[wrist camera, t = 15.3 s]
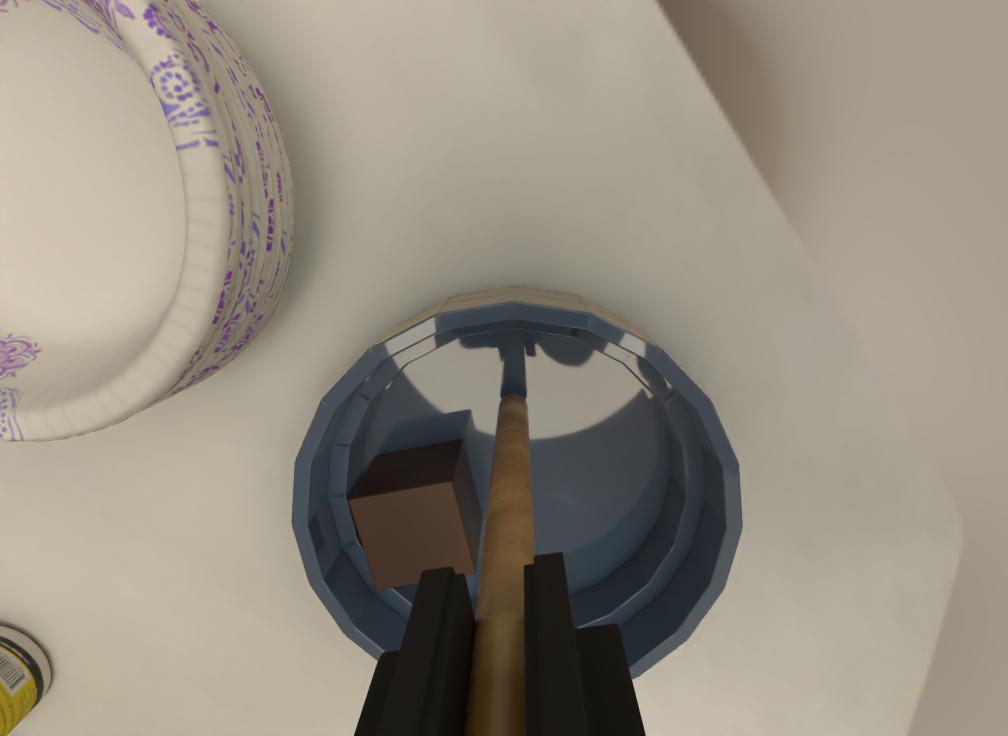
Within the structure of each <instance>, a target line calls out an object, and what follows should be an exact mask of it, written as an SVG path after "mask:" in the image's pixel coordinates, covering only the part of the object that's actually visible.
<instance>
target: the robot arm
mask: <svg viewBox="0 0 1008 736" xmlns="http://www.w3.org/2000/svg"><path fill="white" fill-rule="evenodd" d="M475 623H476V622H475V617H474V613H473V608H472V603H471V599H470V594H469V589H468V585H467V580H466V576H465V574H464V573H460V574H455V570H454V568H453V567H452V566H451V567H443V568H436V569H428V570H423V571H422V573H421V576H420V580H419V583H418V587H417V590H416V594H415V598H414V601H413V605H412V608H411V612H410V616H409V619H408V623H407V626H406V630H405V634H404V637H403V641H402V644H401V648H400V650H394V651H385V652H383V653H382V654H381V656H380V658H379V660H378V663H377V666H376V669H375V672H374V675H373V678H372V681H371V684H370V687H369V690H368V693H367V697H366V700H365V703H364V706H363V709H362V712H361V715H360V718H359V721H358V725H357V728H356V731H355V734H354V736H463V735H464V726H465V716H466V707H467V698H468V689H469V679H470V670H471V661H472V651H473V642H474V633H475ZM524 635H525V709H526V736H646V735H645V731H644V727H643V723H642V719H641V715H640V711H639V707H638V703H637V698H636V694H635V690H634V686H633V682H632V678H631V674H630V670H629V666H628V662H627V658H626V654H625V650H624V646H623V642H622V638H621V634H620V630H619V627H618V624H617V623H615V624H607V625H598V626H590V627H582V628H575V625H574V619H573V612H572V606H571V600H570V594H569V587H568V581H567V575H566V569H565V562H564V556H563V552H557V553H549V554H542V555H534V564H528V565H524Z"/></svg>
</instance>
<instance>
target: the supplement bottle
mask: <svg viewBox="0 0 1008 736" xmlns="http://www.w3.org/2000/svg"><path fill="white" fill-rule="evenodd" d="M50 680H51V672H50V666H49V663H48V661H47V658H46V656H45V655H44V653H43V652H42V650H41V649H40V648H39V647H38V646H37V645H36V644H35V643H34V642H33V641H32V640H31V639H30V638H28V637H27V636H25V635H24V634H22V633H20V632H18V631H16V630H13V629H10V628H7V627H4V626H0V736H7V735H8V734H9V733H10V732H11V731H12V730H13V729H14V728H15V726H16V725H17V724H18V723H19V722H20V721H21V720H22V719H23V718H24V717H25V716H26V715H27V714H28V713H29V712H30V711H31V710H32V709H33V708H34V707H35V706H36V705H37V704H38V703H39V701H40V700H41V699H42V698H43V697H44V695H45V694H46V692H47V690H48V688H49V685H50Z"/></svg>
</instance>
